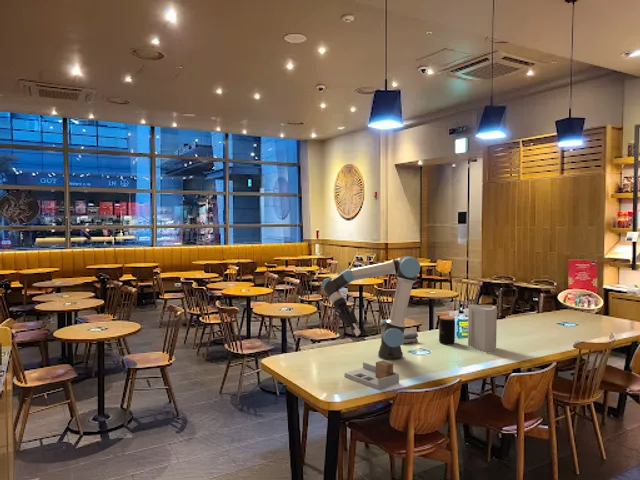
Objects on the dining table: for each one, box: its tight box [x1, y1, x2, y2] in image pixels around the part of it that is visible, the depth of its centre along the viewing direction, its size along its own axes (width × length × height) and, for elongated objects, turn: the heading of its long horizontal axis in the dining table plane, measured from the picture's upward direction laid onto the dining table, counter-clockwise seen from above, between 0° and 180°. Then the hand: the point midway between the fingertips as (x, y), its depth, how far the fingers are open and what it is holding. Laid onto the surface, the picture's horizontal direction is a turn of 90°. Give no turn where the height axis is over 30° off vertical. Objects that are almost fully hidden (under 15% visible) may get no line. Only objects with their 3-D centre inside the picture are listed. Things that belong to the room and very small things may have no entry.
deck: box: [344, 362, 400, 390], centre depth 246 cm, size 15×26×5 cm, turn 39°
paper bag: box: [467, 304, 498, 353], centre depth 309 cm, size 19×15×28 cm
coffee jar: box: [438, 315, 456, 345], centre depth 323 cm, size 11×11×18 cm
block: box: [375, 359, 394, 379], centre depth 244 cm, size 6×7×8 cm
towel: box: [401, 329, 419, 345], centre depth 330 cm, size 15×18×8 cm
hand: (358, 334), depth 260 cm, fingers closed
